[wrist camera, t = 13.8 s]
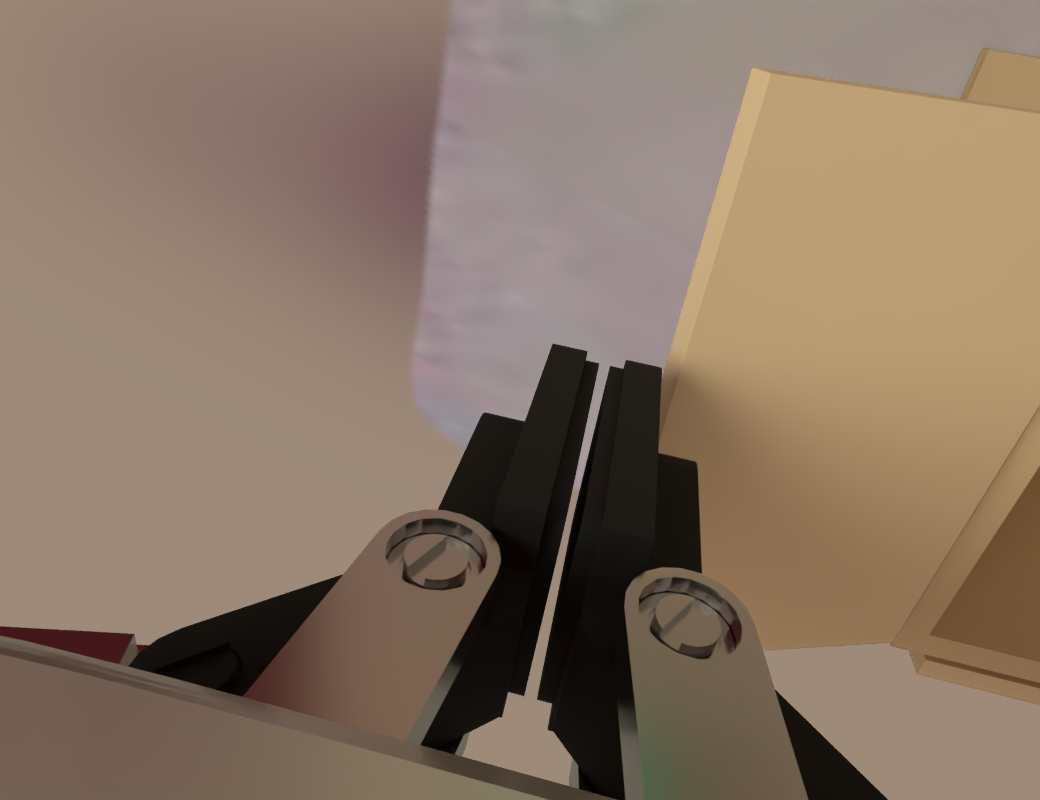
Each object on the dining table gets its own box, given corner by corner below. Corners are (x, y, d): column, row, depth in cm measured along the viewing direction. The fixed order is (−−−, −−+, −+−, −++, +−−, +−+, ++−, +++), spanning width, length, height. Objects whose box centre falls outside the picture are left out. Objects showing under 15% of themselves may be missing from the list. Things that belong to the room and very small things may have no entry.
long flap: (1205, 138, 10) (771, 73, 9) (892, 642, 16) (592, 660, 14) (1171, 131, 11) (752, 67, 9) (879, 624, 16) (586, 640, 15)
